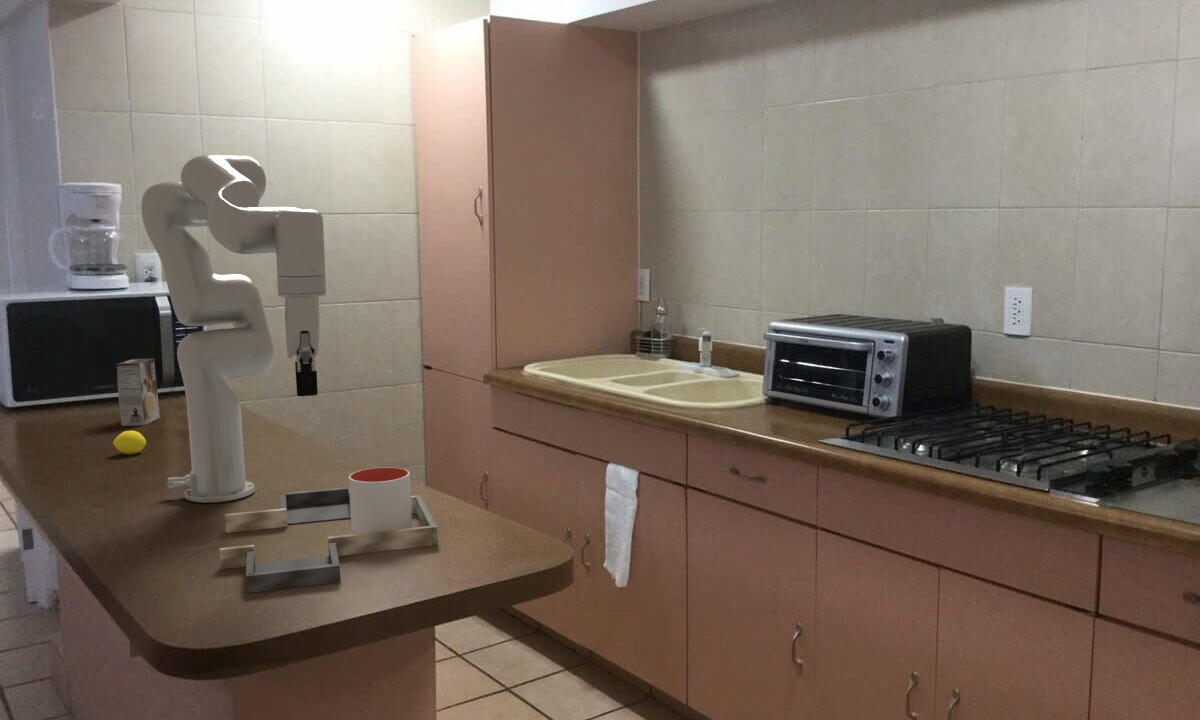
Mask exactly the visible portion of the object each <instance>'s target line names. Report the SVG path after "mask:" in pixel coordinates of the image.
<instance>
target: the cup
mask: <svg viewBox="0 0 1200 720" xmlns="http://www.w3.org/2000/svg"><path fill="white" fill-rule="evenodd" d="M348 487H349V494H350V512H351V518H350V525H351V531H352V533H353V534H358V533H368V532H377V531H386V530H396V529H405V528H412V525H413V514H412V508H411V496H412V491H411V489H412V488H411V473H410V471H409V470H407V469H404V468H401V467H392V466H389V467H388V466H387V467H385V466H384V467H383V466H382V467H381V466H380V467H373V468H372V467H371V468H366V469H361V470H357V471H355V472H352V473H350V475H348Z"/></svg>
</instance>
